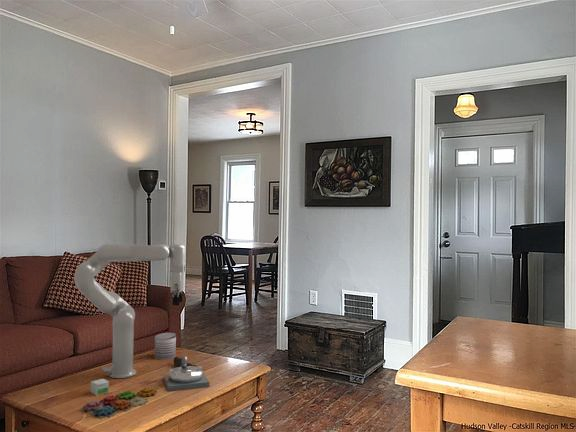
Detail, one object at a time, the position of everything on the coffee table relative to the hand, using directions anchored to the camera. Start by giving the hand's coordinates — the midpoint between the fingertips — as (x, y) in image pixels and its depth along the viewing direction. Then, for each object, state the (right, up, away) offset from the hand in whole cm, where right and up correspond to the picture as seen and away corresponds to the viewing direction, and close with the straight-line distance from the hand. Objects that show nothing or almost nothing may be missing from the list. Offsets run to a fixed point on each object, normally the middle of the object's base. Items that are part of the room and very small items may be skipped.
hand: (177, 303), depth 232 cm
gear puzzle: (-11, -33, -42) cm, 55 cm away
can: (-13, -34, +25) cm, 44 cm away
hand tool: (+2, -34, +4) cm, 34 cm away
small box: (-26, -33, -31) cm, 52 cm away
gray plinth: (+8, -33, -17) cm, 38 cm away
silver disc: (+8, -31, -17) cm, 36 cm away
